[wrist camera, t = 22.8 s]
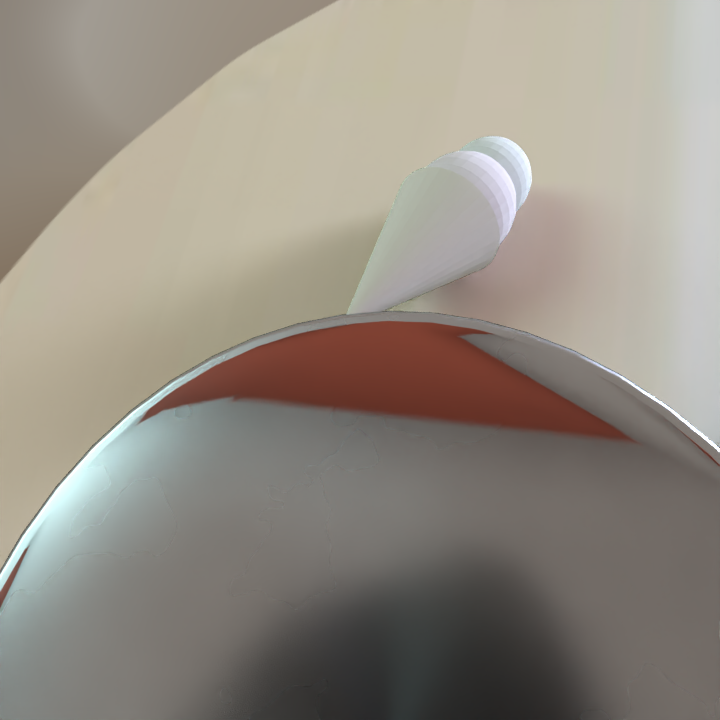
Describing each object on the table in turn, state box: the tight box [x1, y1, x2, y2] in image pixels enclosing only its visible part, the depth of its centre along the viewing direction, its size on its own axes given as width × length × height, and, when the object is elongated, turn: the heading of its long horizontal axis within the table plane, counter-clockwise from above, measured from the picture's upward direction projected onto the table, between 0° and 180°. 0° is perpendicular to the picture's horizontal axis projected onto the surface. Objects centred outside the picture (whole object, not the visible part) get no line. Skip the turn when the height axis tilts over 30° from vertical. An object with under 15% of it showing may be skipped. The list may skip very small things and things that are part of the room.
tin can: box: [0, 311, 720, 720], centre depth 8 cm, size 6×6×12 cm
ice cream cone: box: [347, 136, 531, 314], centre depth 24 cm, size 6×6×15 cm
